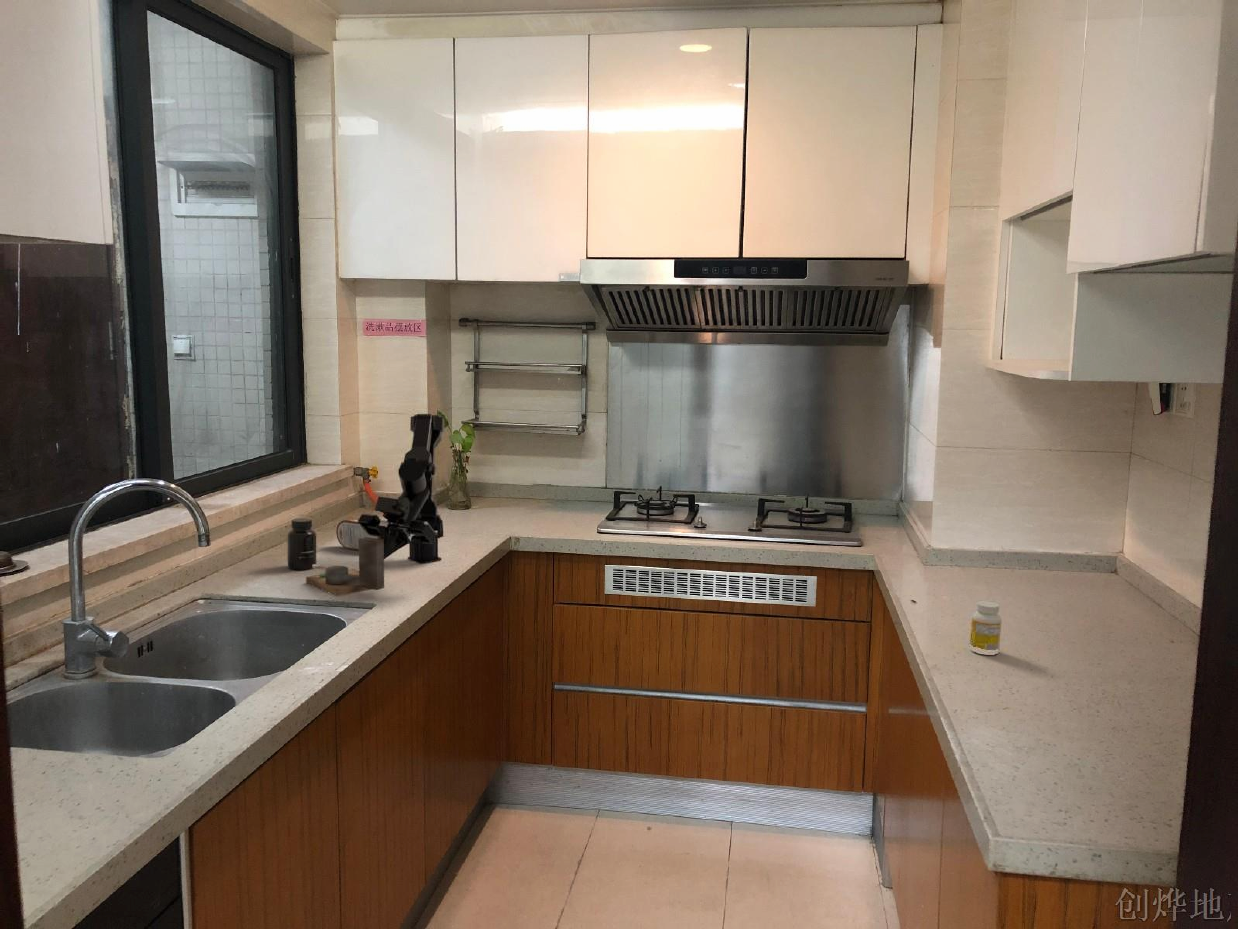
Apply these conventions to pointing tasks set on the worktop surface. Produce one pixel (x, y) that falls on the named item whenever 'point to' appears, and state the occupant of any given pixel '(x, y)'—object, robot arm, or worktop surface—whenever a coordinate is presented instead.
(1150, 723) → the worktop surface
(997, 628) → the supplement bottle
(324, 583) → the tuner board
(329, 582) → the upright block on board
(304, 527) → the supplement bottle
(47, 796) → the worktop surface
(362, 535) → the tin
